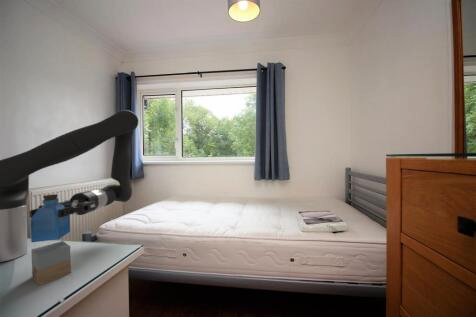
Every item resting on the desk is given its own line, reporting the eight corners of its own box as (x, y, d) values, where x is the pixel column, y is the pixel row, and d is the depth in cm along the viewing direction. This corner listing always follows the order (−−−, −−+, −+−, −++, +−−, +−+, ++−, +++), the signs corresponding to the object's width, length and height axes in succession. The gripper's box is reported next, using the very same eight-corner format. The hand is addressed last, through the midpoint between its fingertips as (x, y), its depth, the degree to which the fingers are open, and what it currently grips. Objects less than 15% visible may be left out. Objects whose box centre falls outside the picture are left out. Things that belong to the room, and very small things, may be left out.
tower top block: (31, 263, 59) (31, 249, 59) (63, 253, 64) (62, 241, 64) (37, 270, 54) (37, 255, 54) (70, 259, 60) (70, 246, 60)
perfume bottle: (58, 239, 57) (56, 196, 57) (31, 242, 56) (29, 198, 56) (70, 231, 63) (68, 192, 63) (46, 234, 62) (44, 194, 62)
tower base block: (32, 277, 58) (32, 263, 59) (63, 266, 64) (63, 253, 64) (38, 285, 54) (37, 270, 54) (71, 273, 60) (70, 259, 60)
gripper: (70, 191, 74) (20, 201, 58) (108, 190, 73) (68, 200, 57) (71, 212, 74) (21, 227, 58) (109, 211, 74) (69, 227, 57)
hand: (44, 214), depth 58 cm, fingers closed on perfume bottle, 8 cm apart
